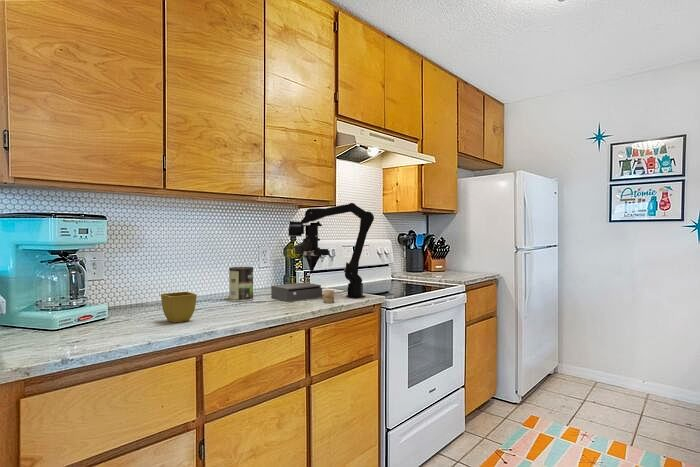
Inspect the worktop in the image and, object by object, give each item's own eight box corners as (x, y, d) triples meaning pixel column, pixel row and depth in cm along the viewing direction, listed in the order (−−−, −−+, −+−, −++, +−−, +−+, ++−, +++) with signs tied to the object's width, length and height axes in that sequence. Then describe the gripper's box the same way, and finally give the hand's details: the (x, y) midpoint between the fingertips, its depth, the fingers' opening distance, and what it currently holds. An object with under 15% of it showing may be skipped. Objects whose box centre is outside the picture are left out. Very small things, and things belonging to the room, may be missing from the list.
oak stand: (329, 301, 170) (329, 289, 170) (336, 302, 167) (336, 291, 167) (321, 302, 167) (321, 290, 167) (328, 303, 164) (328, 292, 164)
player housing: (304, 293, 190) (304, 282, 190) (322, 297, 180) (322, 285, 180) (271, 298, 178) (271, 285, 178) (288, 302, 168) (288, 289, 168)
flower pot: (186, 317, 138) (186, 291, 138) (197, 320, 132) (197, 293, 132) (160, 320, 132) (160, 293, 132) (170, 325, 126) (170, 296, 126)
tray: (306, 293, 189) (306, 285, 189) (322, 296, 180) (322, 287, 180) (273, 297, 177) (273, 288, 177) (289, 300, 168) (289, 291, 168)
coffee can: (256, 297, 179) (256, 266, 179) (249, 301, 169) (249, 268, 169) (233, 297, 179) (233, 266, 179) (225, 301, 169) (225, 268, 169)
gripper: (285, 236, 183) (285, 270, 183) (309, 236, 169) (309, 273, 169) (305, 236, 190) (305, 268, 190) (330, 236, 176) (329, 271, 176)
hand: (311, 270), depth 181 cm, fingers closed
